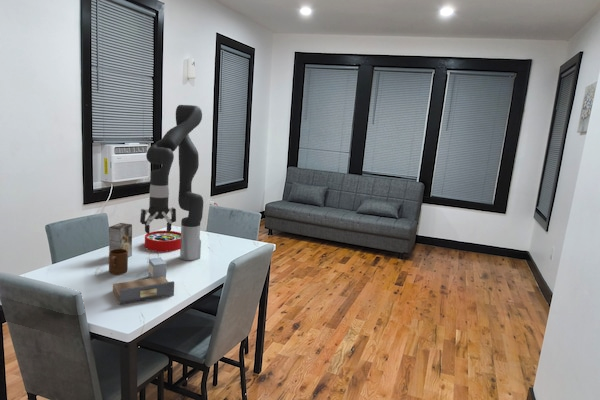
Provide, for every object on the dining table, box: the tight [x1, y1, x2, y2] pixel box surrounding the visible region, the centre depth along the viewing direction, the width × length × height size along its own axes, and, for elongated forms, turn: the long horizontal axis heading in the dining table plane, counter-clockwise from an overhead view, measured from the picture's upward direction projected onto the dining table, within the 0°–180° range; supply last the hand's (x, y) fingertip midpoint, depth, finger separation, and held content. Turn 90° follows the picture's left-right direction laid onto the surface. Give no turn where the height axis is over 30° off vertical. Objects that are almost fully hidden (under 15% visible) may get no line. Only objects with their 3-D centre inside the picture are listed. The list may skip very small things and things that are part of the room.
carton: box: [148, 257, 167, 279], centre depth 174 cm, size 6×8×8 cm
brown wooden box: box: [112, 276, 175, 306], centre depth 159 cm, size 20×14×6 cm
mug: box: [108, 249, 129, 275], centre depth 175 cm, size 12×8×9 cm, turn 3°
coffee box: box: [108, 222, 133, 258], centre depth 194 cm, size 9×6×16 cm
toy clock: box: [144, 230, 181, 253], centre depth 217 cm, size 20×6×20 cm
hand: (158, 232), depth 171 cm, fingers open, 8 cm apart
